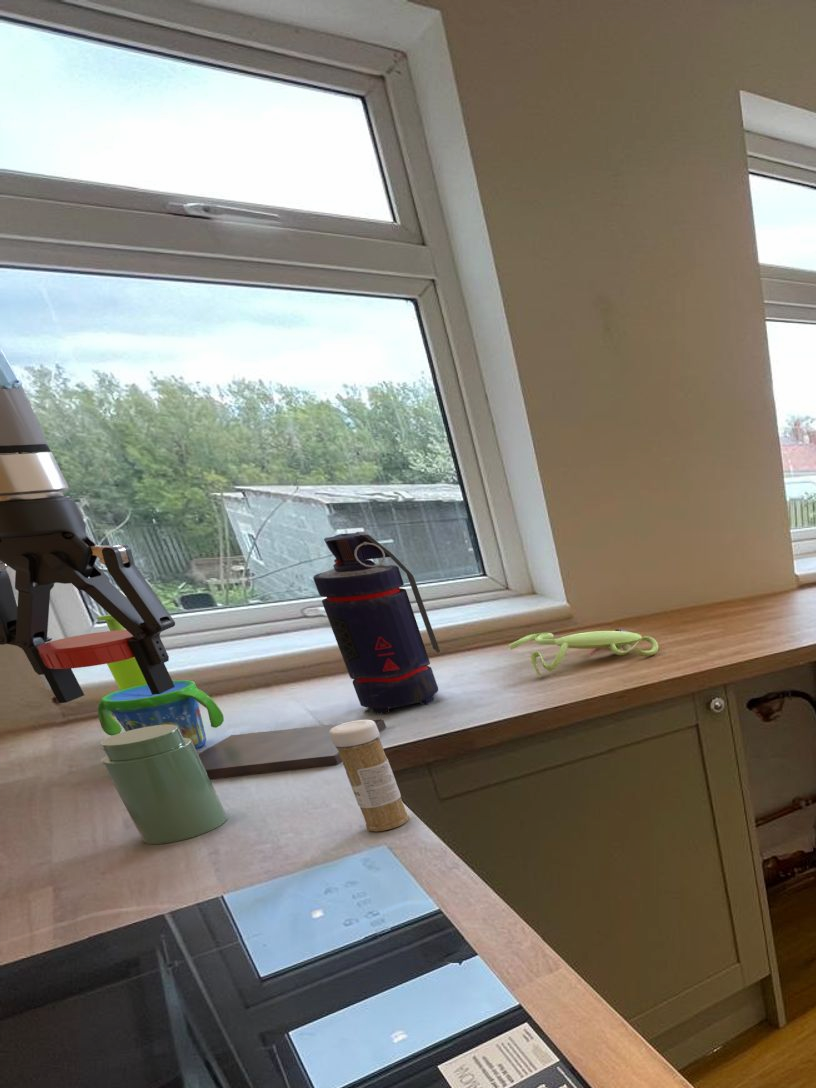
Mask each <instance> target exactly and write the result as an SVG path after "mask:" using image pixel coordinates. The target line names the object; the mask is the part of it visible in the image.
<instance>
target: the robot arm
mask: <svg viewBox="0 0 816 1088" xmlns="http://www.w3.org/2000/svg"><path fill="white" fill-rule="evenodd" d="M69 487H70V486H69V485H68V483H67V481H66V479H65V477H64V474H63V472H62V470H61V468H60V466H59V464H58V462H57V460H56V458H55V455H54V454H53V452H52V451H51V449H50V446H49V445H48V441H47V439H46V437H45V435H44V432H43V429H42V428H41V425H40V424H39V421H38V419H37V417H36V414H35V412H34V410H33V408H32V406H31V403H30V401H29V399H28V396H27V394H26V392H25V390H24V387H23V383H22V380H21V379H20V377H18V376H17V375H16V374H15V371H14V370H13V368H12V366H11V364H10V362H9V360H8V358H7V356H6V355H5V353H4V351H3V349H2V348H1V347H0V645H2V646H3V645H11V646H16V647H18V648H20V649H21V650H22V651H23V652H24V654H25V656H26V658H27V660H28V662H29V663H30V665H31V667H32V669H33V671H34V672H35V673H36V674H37V675H38V676H44V678H45V679H46V682H47V683H48V685H49V687H50V689H51V691H52V693H53V695H54V697H55V698H56V701H57V702H58V704H66V703H69V702H72V701H74V700H77V699H79V698H82V697H84V696H85V693H84V691H83V688H82V687H81V685H80V683H79V681H78V679H77V677H76V675H75V674H74V671H73V668H71V669H50V668H47V666H45V664H44V662H43V660H42V658H41V656H40V655H39V653H38V652H39V650H38V648H37V647H38V646H40V645H42V644H45V643H48V642H51V641H53V638H52V637H49V636H48V630H49V617H50V616H49V614H50V602H51V601H50V599H51V590H52V589H53V588H54V587H55V584H64V585H67V584H71V585H72V586H73V587H75V588H76V589H78V590H79V591H82V592H85V593H86V594H87V595H88V596H89V597H90V598H91V599H92V600H93V601H94V602H95V603H96V604H98V606H100V607H101V608H102V609H103V610H104V611H105V612H106V613H107V614H108V615H111V616H112V617H113V618H114V619H115V620H116V621H117V622H118V623H120V624H121V625H122V626H123V627H124V628H125V630H127V631H128V632H129V633H130V634H132V635H133V637H132V638H129V639H131V640H129V641H127V642H128V644H129V647H130V649H131V651H132V653H133V655H134V657H135V659H136V661H137V663H138V666H139V668H140V670H141V672H142V674H143V676H144V678H145V680H146V682H147V685H148V687H149V689H150V691H151V693H152V695H153V694H161V693H163V692H165V691H167V690H169V689H172V688H174V687H175V686H174V684H173V681H174V680H172V677H171V675H170V673H169V670H168V668H167V667H166V664H165V663H167V662H169V660H170V659H169V658H170V656H169V654H168V652H167V650H166V648H165V646H164V645H165V644H164V643H163V640H162V639H161V636H160V635H161V633H162V632H165V631H167V630H169V629H171V628H174V627H175V626H176V622H175V620H174V618H173V617H172V616H171V614H170V613H169V611H168V610H167V608H166V607H165V605H164V604H163V603H162V601H161V600H160V599H159V597H158V596H157V594H156V593H155V591H154V590H153V588H152V587H151V586H150V584H149V583H148V581H147V579H145V577H144V576H143V574H142V573H141V571H140V570H139V568H138V567H137V565H136V564H135V563H136V562H135V560H134V555H133V553H132V549H131V547H130V546H129V545H127V544H124V543H121V544H116V545H99V544H97V543H95V542H94V541H93V540H92V539H91V538H90V537H89V535H88V534H87V532H86V527H87V526H86V522H85V520H84V517H83V516H82V513H81V511H80V510H79V507H78V505H77V503H76V500H75V499H74V498H71V496H70V495H64V492H65V491H67V490H69ZM97 559H99V560H98V562H99V563H100V564H102V565H105V567H106V570H107V571H108V573H109V575H110V577H111V578H112V580H114V582H115V583H116V585H117V586H118V588H119V589H120V590H121V591H120V590H119V589H118V588H117V587H116V586H115V584H113V583H112V582H111V579H110V577H109V575H107V574H106V573H105V572H104V571H103V570H102V569H101V568H100V567H99V566H98V565H97V564H96V562H97ZM7 568H11V569H12V570H13V571H15V573H14V574H15V576H14V588H13V585H12V582H11V578H10V575H9V572H8V571H7ZM14 589H15V590H16V591H17V600H16V597H15V592H14Z"/></svg>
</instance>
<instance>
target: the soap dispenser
mask: <svg viewBox="0 0 816 1088" xmlns="http://www.w3.org/2000/svg"><path fill="white" fill-rule="evenodd" d="M96 619H97V621H98V622H100V621H101V622H102V621H105V623H106V625H107V627H108V630H109V631H116V630H126V629H125V628H124V627H123V626H122V625H121V624H120V623H118V622H117V621H116V620H115V619H114V618H113V617H112V616H111V615H110V614H105V615H102V616H101V615H100V616H96ZM106 665H107V667H108V669H109V671H110V673H111V675H112V677H113V679H114V681H115V683H116V686H117V687H118V689H119V690H123V689H126V688H130V687H135V686H140V685H145V684H147V682H146V680H145V678H144V676H143V674H142V672H141V670H140V668H139V666H138V663H137V661H136V659H135V657H134V658H130V659H126V660H122V661H117V662H113V663H107V664H106Z"/></svg>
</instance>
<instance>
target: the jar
mask: <svg viewBox="0 0 816 1088" xmlns="http://www.w3.org/2000/svg"><path fill="white" fill-rule="evenodd" d="M100 750H103V752H104V753H105V756H103V757H102V758H101V763H102V765H103V767H104V769H105V771H106V773H107V775H108V776H109V778H110V780H111V782H112V784H113V786H114V788H115V790H116V792H117V794H118V796H119V797H120V800H121V801H122V804H123V805H124V807H125V809H126V811H127V812H128V815H129V817H130V819H131V821H132V822H133V824H134V826H135V828H136V830H137V832H138V834H139V835H140V838H141V839H142V841H143V842H144V843H145V844H149V845H164V844H170V843H177V842H180V841H184V840H187V839H192V838H195V837H197V836H201V835H203V834H205V833H209V832H210V831H213V830H215V829H217V828H219V827H220V826H222V825H224V824H225V823H226V821H227V820H228V815H227V813H226V811H225V808H224V806H223V804H222V802H221V800H220V798H219V796H218V794H217V792H216V789H215V787H214V785H213V783H212V781H211V779H209V777H208V774H207V772H206V770H205V768H204V766H203V764H202V762H201V760H200V757H199V755H198V754H199V753H198V751H197V748H196V749H195V747H194V745H193V743H192V740H191V739H189V738H183V736H182V734H181V732H180V730H179V728H178V726H176V725H156V726H149V727H143V728H138V729H134V730H130V731H121V732H120V733H119V734H116V735H110V736H109V737H106V738H105V739H102V740H101V742H100Z"/></svg>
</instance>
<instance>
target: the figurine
mask: <svg viewBox="0 0 816 1088" xmlns="http://www.w3.org/2000/svg"><path fill="white" fill-rule="evenodd" d="M530 641H534V642H535V643H536V644H537V645H539V646H548V645H550V646H552V645H554V646H555V645H556V646H559V647H560V649H559V651H558V652H557V654H556V655H555V657H554V659H553V661H552V662H551V663H549V664H547V662H545V660H544V658H543V656H542V654H541V653H540V652H539V651H538V650H535V651H532V652H531V654H530V660H531V661H530V662H531V664H532V665H533V668H534V670H535V673H536V675H537V677H539V678H541V677H542V676H541V672H540V670H539V667H538V665H537V658H539V657H540V661H541V664H542V667H543V668H544V669H545V670H547V671H549V672H550V671H553V670H556V668H557V667H558V666H559V665H560V664H561V661H562V660H563V658H564V657H565V656H566V654H567V652H568V651H567V650H568V649H581V650H585V649H586V650H587V649H588V650H589V649H590V650H591V649H592V650H591V651H590V652H588V654H587V655H588V656H590V657H591V656H593V655H595V654H596V653H597V652H599V651H600V650H602V649H605V648H606V649H610V651H611V652H612V654H614V655H617V656H624V655H626V654H628V653H630V652H631V651H632V650H633V649H634V651H635V653H636V654H639V655H640V656H642V657H650V656H654V655H656V653H657V652H658V651H659V644H658V641H657V640H656V638H653V636H652V637H651V636H648V635H647V636H645V635H644V636H642V635H641V634H640V633H636V632H631V631H628V630H625V629H620V628H616V629H614V630H597V631H587V632H580V633H574V634H570V635H565V636H562V637H560V638H554V633H551V632H539V633H531V634H528V635H526V636H524V637H521V638H520V639H518V640H515V641H513V642H511V643H509V644H508V646H509V650H510V651H511V650H514V649H516V648H518V647H520V646H522V645H524V644H526V643H528V642H530ZM644 641H645V642H648V643H649V644H651V646H652V647H651V649H650V650H649V649H648V650H642V649H641V648H638V647H636V646H637V645H638V643H640V642H644ZM633 643H634V645H632V646H631V645H630V644H633ZM621 649H622V650H621Z"/></svg>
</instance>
